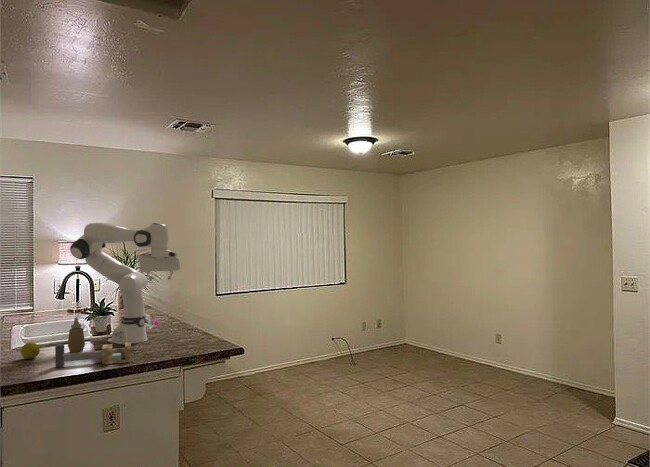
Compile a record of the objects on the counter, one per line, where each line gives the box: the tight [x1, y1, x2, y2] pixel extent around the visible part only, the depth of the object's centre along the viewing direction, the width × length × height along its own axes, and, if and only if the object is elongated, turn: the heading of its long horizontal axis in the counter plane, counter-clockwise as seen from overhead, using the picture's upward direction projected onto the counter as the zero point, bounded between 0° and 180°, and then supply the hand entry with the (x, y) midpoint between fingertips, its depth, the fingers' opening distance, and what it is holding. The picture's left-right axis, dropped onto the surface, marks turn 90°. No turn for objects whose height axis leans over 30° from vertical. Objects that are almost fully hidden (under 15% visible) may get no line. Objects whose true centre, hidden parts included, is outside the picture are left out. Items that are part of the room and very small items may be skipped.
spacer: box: [112, 353, 123, 361], centre depth 227 cm, size 4×5×4 cm
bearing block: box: [101, 342, 132, 365], centre depth 227 cm, size 12×9×8 cm
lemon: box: [20, 342, 40, 360], centre depth 233 cm, size 11×8×8 cm
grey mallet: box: [54, 343, 102, 369], centre depth 221 cm, size 22×5×10 cm, turn 113°
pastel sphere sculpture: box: [144, 312, 160, 331], centre depth 311 cm, size 25×24×9 cm
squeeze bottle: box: [67, 316, 86, 354], centre depth 246 cm, size 8×8×18 cm
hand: (160, 279), depth 247 cm, fingers open, 8 cm apart
